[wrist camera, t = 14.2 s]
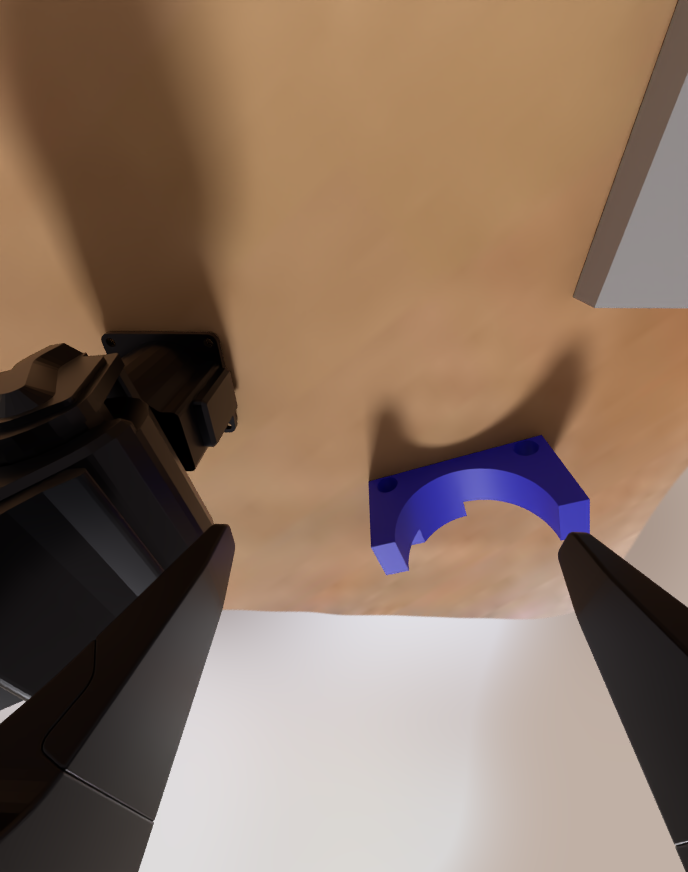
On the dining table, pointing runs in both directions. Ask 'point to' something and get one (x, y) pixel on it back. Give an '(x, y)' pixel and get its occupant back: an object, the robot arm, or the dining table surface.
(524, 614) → the dining table surface
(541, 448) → the blue arched block
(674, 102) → the hitch block
